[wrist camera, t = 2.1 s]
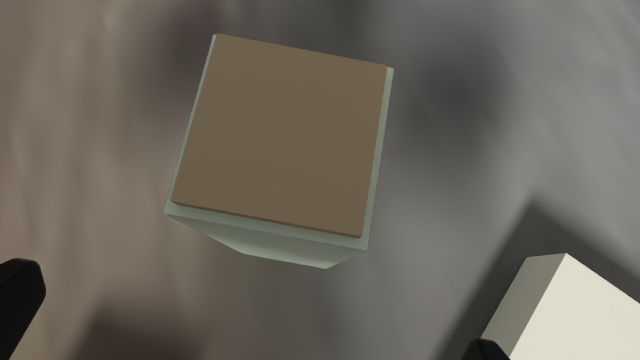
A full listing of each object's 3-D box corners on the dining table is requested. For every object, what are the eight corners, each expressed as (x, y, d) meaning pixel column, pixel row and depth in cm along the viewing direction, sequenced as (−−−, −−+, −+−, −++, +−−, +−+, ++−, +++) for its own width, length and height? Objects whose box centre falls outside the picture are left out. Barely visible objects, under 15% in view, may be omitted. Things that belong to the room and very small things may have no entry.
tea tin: (325, 268, 19) (370, 249, 7) (242, 253, 19) (156, 209, 7) (339, 188, 20) (398, 58, 8) (260, 173, 20) (209, 22, 8)
